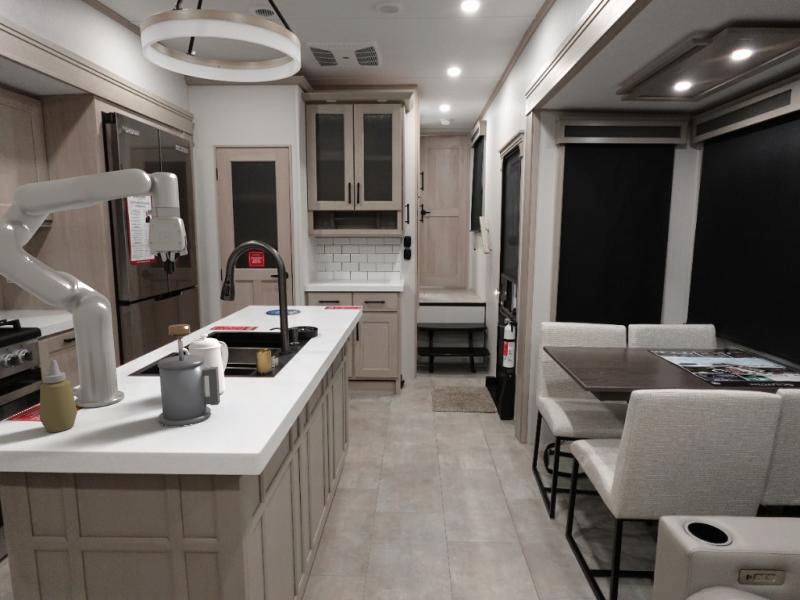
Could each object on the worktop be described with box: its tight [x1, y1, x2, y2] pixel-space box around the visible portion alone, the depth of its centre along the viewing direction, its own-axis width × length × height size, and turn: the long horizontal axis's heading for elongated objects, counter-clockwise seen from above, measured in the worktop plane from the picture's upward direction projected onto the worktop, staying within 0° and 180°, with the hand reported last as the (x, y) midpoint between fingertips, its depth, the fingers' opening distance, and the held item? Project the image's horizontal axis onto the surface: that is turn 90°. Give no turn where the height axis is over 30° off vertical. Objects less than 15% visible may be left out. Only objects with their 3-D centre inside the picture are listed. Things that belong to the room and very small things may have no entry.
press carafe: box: [157, 354, 221, 427], centre depth 135 cm, size 16×13×16 cm
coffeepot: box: [176, 333, 229, 396], centre depth 154 cm, size 11×25×19 cm, turn 168°
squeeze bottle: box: [39, 359, 78, 433], centre depth 128 cm, size 8×8×18 cm
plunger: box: [168, 323, 191, 360], centre depth 133 cm, size 5×5×9 cm
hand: (170, 273), depth 155 cm, fingers closed
